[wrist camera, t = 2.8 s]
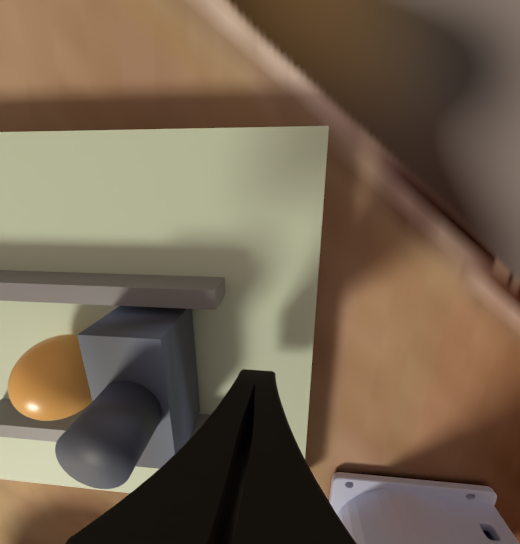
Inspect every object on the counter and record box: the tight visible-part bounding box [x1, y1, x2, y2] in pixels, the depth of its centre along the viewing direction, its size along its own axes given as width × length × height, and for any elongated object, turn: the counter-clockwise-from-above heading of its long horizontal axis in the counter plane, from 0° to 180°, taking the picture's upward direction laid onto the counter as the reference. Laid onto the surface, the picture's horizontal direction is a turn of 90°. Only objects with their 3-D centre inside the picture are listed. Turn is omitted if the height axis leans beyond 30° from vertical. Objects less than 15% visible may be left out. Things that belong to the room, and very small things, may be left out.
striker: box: [55, 306, 200, 489], centre depth 10 cm, size 3×6×5 cm, turn 0°
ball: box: [8, 334, 92, 421], centre depth 11 cm, size 4×4×4 cm
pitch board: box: [0, 126, 329, 493], centre depth 14 cm, size 28×20×4 cm
